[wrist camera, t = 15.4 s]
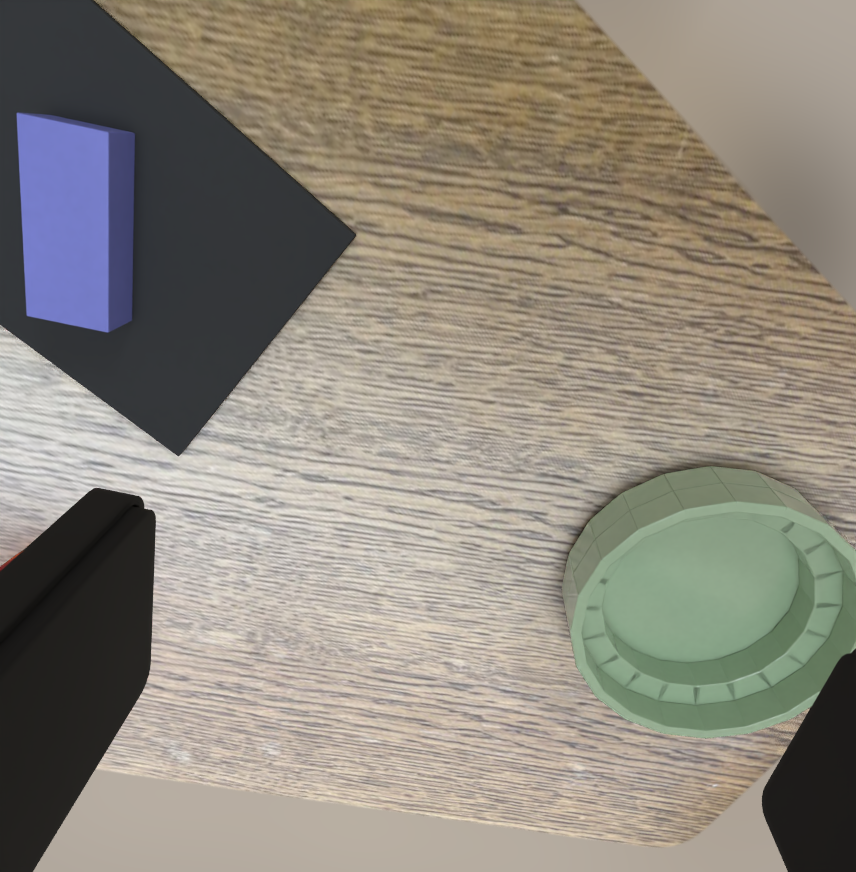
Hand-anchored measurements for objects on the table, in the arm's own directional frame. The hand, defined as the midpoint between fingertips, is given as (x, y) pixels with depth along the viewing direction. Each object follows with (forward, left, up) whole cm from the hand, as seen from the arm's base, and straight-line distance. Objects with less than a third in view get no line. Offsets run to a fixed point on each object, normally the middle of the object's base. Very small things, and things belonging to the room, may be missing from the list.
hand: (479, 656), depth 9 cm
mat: (+10, -16, -26) cm, 32 cm away
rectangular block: (+10, -16, -26) cm, 32 cm away
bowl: (+4, +21, -26) cm, 34 cm away
